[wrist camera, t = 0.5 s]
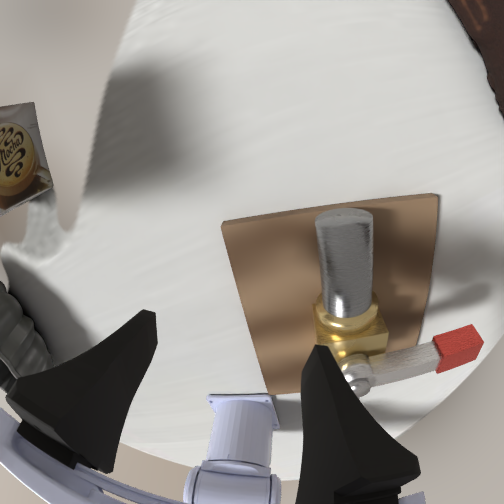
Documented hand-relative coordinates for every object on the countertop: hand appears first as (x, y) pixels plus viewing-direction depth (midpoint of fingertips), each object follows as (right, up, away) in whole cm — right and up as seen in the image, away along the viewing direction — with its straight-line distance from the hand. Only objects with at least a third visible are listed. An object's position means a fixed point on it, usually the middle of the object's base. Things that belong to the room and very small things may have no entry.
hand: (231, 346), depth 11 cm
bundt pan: (-39, -7, +19) cm, 44 cm away
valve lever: (+13, -3, +5) cm, 14 cm away
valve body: (+9, -1, +11) cm, 14 cm away
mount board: (+9, -1, +11) cm, 14 cm away
